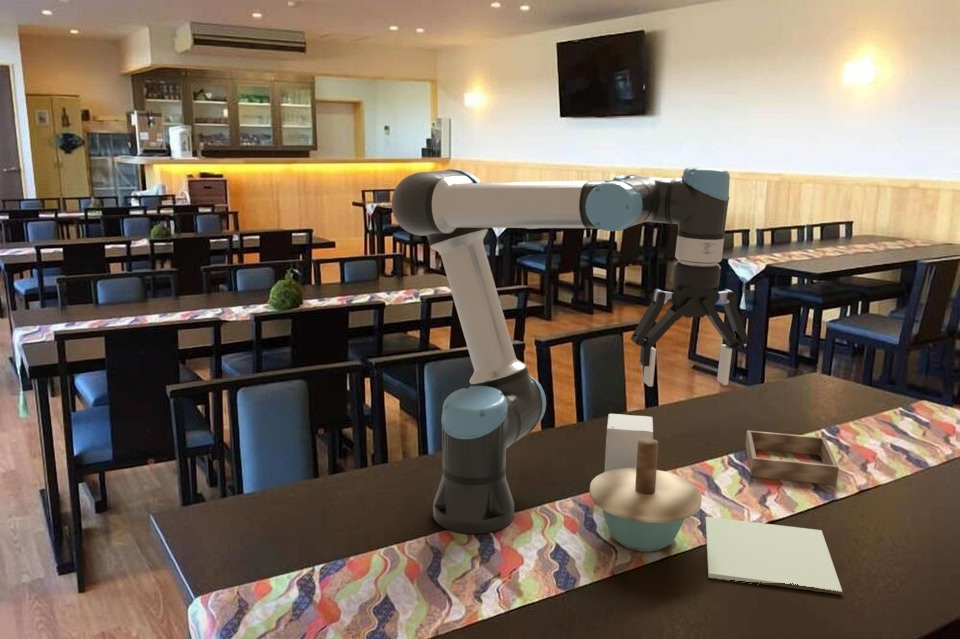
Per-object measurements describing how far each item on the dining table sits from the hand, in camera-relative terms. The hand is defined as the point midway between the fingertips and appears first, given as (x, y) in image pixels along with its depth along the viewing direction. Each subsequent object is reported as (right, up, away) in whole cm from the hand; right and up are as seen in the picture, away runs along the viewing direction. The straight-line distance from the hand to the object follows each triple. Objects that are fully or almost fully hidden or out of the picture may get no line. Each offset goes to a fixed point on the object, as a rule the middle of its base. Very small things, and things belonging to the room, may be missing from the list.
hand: (685, 383), depth 138 cm
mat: (+13, -29, -2) cm, 32 cm away
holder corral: (+31, -20, +35) cm, 51 cm away
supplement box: (-6, -24, +21) cm, 32 cm away
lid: (-7, -20, +1) cm, 21 cm away
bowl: (-7, -28, +3) cm, 29 cm away
